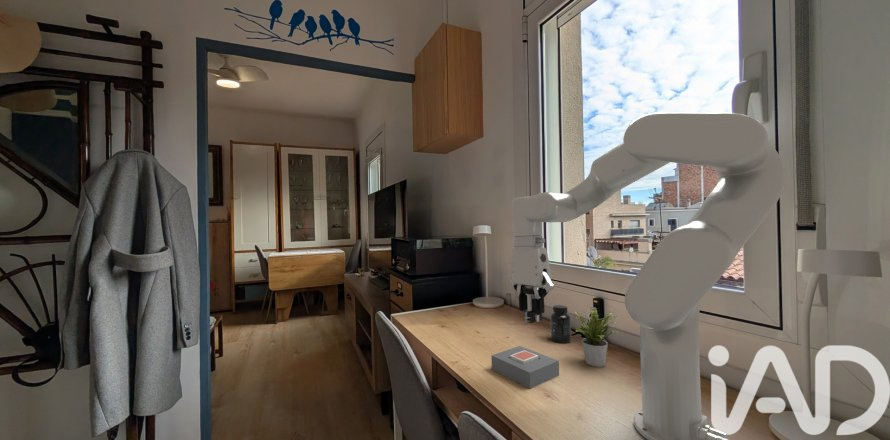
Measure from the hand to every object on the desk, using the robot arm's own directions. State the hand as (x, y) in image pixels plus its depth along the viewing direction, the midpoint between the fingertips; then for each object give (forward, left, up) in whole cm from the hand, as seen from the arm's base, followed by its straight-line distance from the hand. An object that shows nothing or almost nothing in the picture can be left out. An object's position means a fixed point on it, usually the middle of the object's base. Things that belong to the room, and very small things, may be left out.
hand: (531, 310), depth 84 cm
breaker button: (+5, -2, -17) cm, 18 cm away
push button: (0, 0, -3) cm, 3 cm away
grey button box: (+5, -2, -19) cm, 19 cm away
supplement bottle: (+14, -32, -19) cm, 40 cm away
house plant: (-5, -23, -19) cm, 31 cm away
